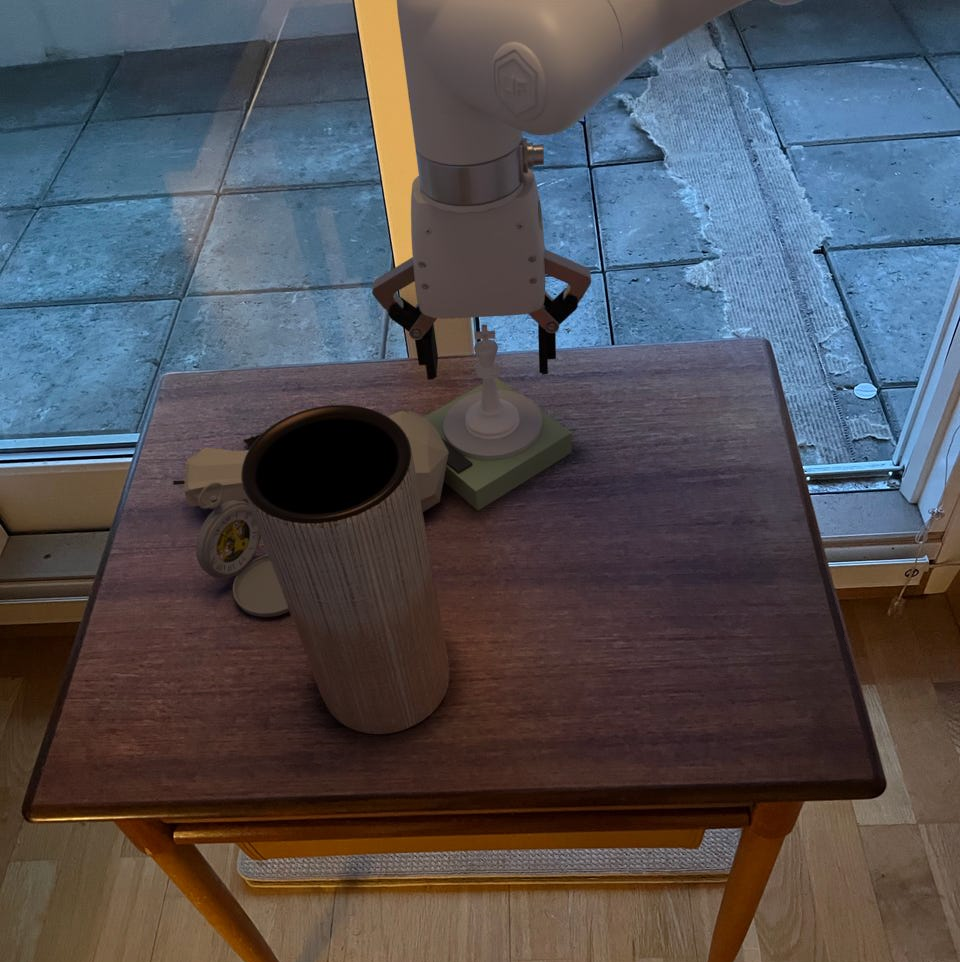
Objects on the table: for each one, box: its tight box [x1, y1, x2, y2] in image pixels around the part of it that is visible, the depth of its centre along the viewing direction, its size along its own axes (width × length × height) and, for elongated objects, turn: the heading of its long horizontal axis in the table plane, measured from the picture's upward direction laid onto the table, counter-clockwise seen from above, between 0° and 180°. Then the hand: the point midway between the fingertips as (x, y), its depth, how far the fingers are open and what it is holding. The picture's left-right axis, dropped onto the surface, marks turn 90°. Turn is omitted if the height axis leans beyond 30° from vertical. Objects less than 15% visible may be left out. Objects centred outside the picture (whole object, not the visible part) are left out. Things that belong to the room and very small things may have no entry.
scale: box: [424, 376, 573, 511], centre depth 87 cm, size 11×11×3 cm
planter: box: [241, 404, 450, 735], centre depth 64 cm, size 10×10×23 cm
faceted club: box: [172, 410, 449, 513], centre depth 83 cm, size 9×8×25 cm
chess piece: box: [465, 324, 520, 440], centre depth 82 cm, size 5×5×10 cm
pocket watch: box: [195, 482, 290, 618], centre depth 76 cm, size 8×8×10 cm
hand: (488, 366), depth 81 cm, fingers open, 9 cm apart
